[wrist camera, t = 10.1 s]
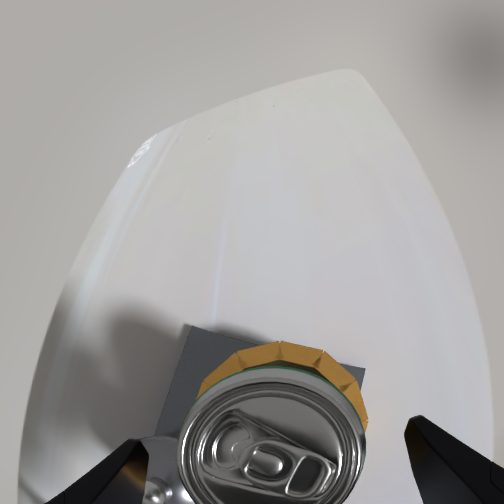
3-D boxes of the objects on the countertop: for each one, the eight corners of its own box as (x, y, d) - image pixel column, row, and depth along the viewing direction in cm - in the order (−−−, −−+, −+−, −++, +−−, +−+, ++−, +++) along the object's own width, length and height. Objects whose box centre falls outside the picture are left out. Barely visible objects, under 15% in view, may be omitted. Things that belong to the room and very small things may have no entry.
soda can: (258, 373, 17) (213, 328, 7) (332, 400, 16) (407, 395, 5) (226, 441, 15) (134, 491, 5) (300, 469, 14) (320, 564, 3)
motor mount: (304, 538, 11) (309, 593, 5) (143, 487, 14) (83, 512, 8) (361, 370, 17) (402, 351, 11) (196, 329, 20) (153, 291, 14)
